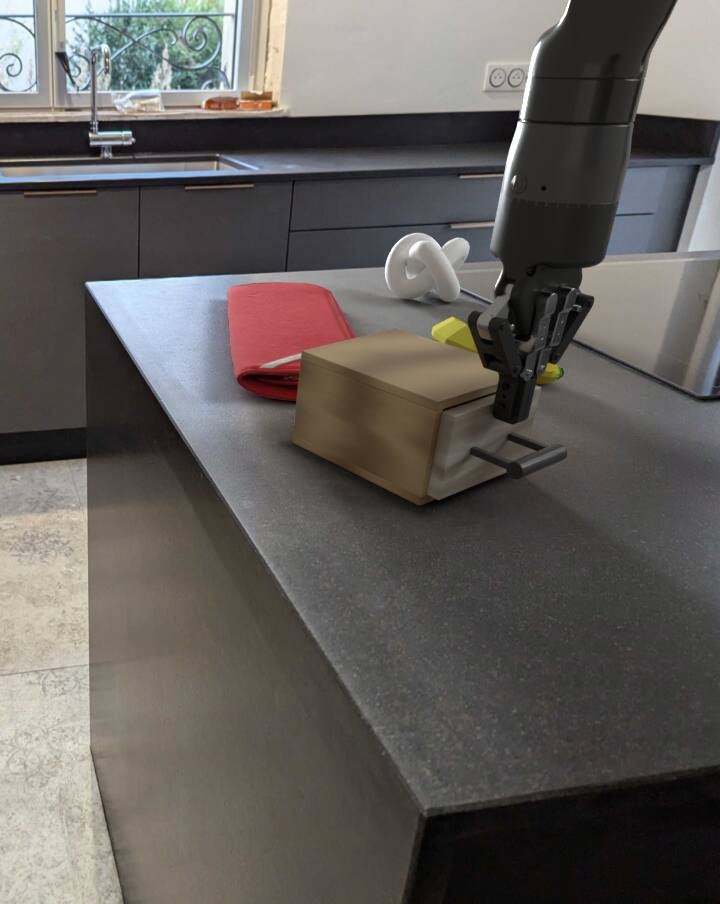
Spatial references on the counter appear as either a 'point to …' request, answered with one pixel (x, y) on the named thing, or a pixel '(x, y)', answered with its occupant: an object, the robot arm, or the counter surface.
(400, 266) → the white knot sculpture
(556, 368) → the banana
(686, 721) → the counter surface
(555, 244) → the robot arm
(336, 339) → the dish drying mat
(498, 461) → the drawer
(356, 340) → the cabinet
